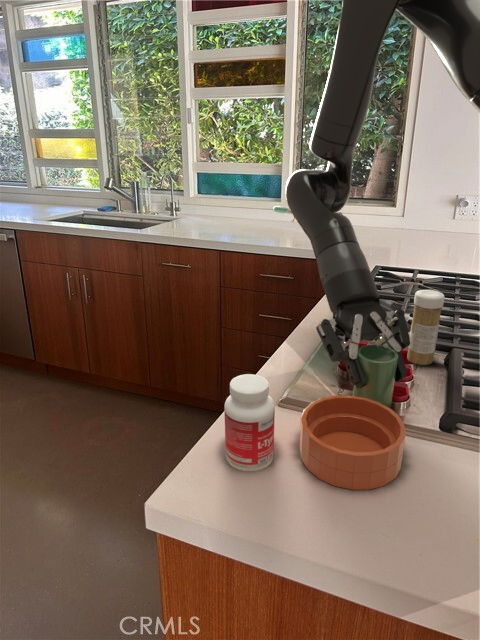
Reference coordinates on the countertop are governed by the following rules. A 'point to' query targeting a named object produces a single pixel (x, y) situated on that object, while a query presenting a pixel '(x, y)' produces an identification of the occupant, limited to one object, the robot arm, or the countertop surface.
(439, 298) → the sprinkles bottle
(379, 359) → the green cup
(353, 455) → the terracotta bowl
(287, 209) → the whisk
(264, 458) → the pill bottle
